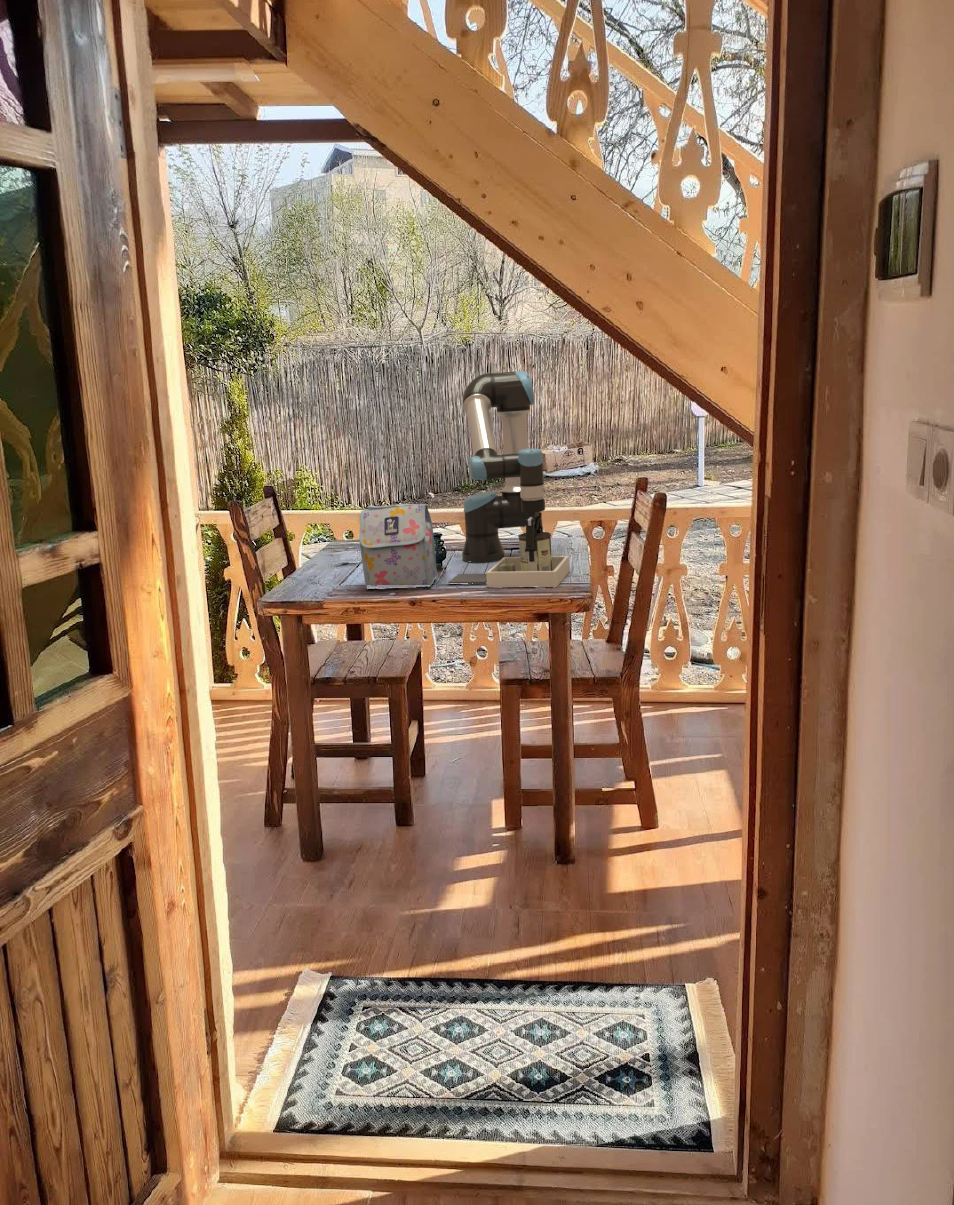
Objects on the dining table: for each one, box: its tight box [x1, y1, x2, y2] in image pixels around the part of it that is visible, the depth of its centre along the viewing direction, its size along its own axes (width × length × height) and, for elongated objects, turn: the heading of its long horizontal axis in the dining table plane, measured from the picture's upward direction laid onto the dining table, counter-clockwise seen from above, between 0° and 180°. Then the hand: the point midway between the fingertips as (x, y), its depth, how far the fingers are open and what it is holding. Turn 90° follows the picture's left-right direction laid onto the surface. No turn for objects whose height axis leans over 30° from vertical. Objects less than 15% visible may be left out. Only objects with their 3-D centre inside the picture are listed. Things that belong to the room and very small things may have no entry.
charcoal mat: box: [448, 573, 487, 585], centre depth 336 cm, size 12×12×1 cm
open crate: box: [485, 555, 570, 589], centre depth 331 cm, size 22×24×5 cm
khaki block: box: [500, 563, 515, 572], centre depth 333 cm, size 4×4×5 cm
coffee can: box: [518, 531, 553, 571], centre depth 330 cm, size 10×10×14 cm
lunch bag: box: [358, 503, 439, 586], centre depth 332 cm, size 22×17×26 cm
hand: (536, 567), depth 330 cm, fingers closed on coffee can, 10 cm apart
